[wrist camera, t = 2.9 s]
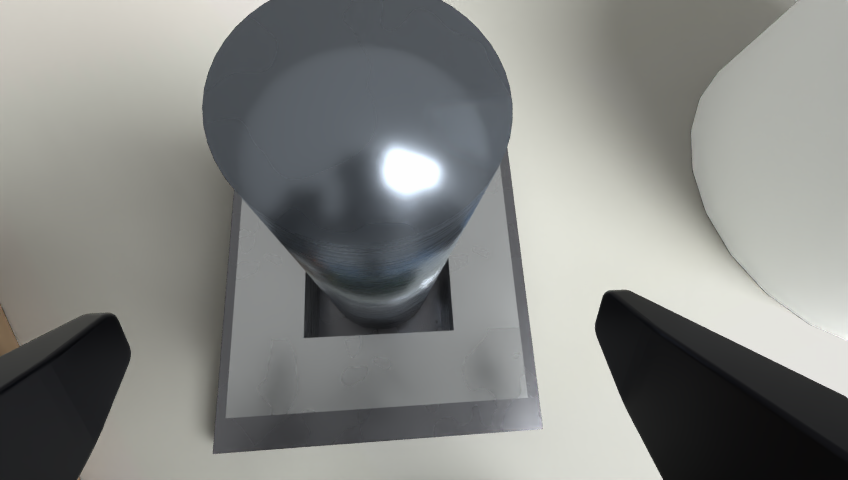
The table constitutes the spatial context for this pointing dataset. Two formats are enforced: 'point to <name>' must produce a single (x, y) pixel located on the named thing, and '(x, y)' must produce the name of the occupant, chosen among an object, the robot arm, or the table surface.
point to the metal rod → (360, 139)
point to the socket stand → (376, 346)
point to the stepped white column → (783, 160)
